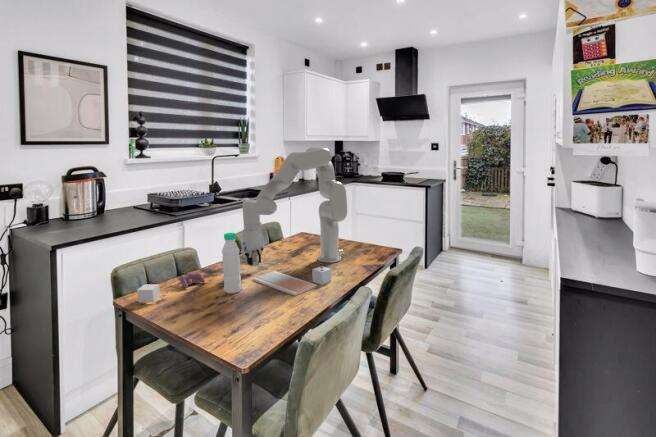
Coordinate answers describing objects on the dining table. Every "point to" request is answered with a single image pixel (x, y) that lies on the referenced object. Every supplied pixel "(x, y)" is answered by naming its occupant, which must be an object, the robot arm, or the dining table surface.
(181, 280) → the video game controller
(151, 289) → the light grey cube
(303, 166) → the robot arm
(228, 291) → the water bottle
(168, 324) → the dining table surface
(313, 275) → the die
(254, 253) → the pawn
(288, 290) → the board
